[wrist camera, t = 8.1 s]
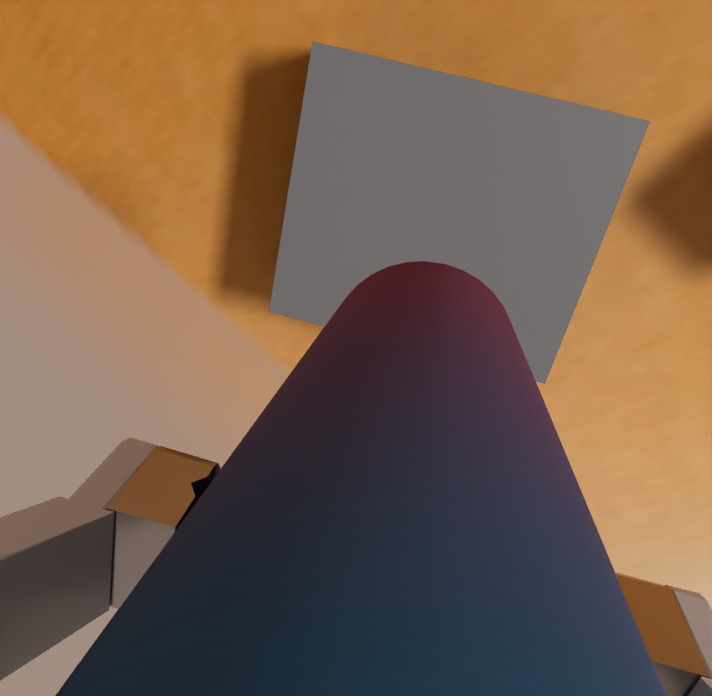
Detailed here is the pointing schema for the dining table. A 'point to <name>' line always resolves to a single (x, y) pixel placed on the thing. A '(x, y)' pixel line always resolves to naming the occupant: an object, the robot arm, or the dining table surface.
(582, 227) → the plinth
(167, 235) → the dining table surface
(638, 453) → the dining table surface
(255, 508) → the cup
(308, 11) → the dining table surface
